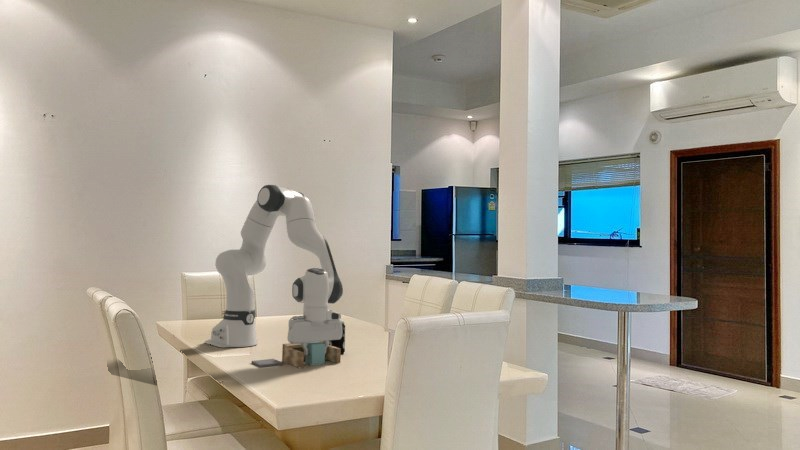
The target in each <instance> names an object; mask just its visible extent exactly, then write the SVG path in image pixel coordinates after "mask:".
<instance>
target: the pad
mask: <svg viewBox="0 0 800 450" xmlns="http://www.w3.org/2000/svg"><path fill="white" fill-rule="evenodd" d="M251 364H252V365H255V366H257V367H259V368H266V367H268V368H269V367H276V366H283V365H284V361H280V360H278V359H275V358H267V359H266V358H265V359H259V360H257V359H256V360H252V361H251Z"/></svg>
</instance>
